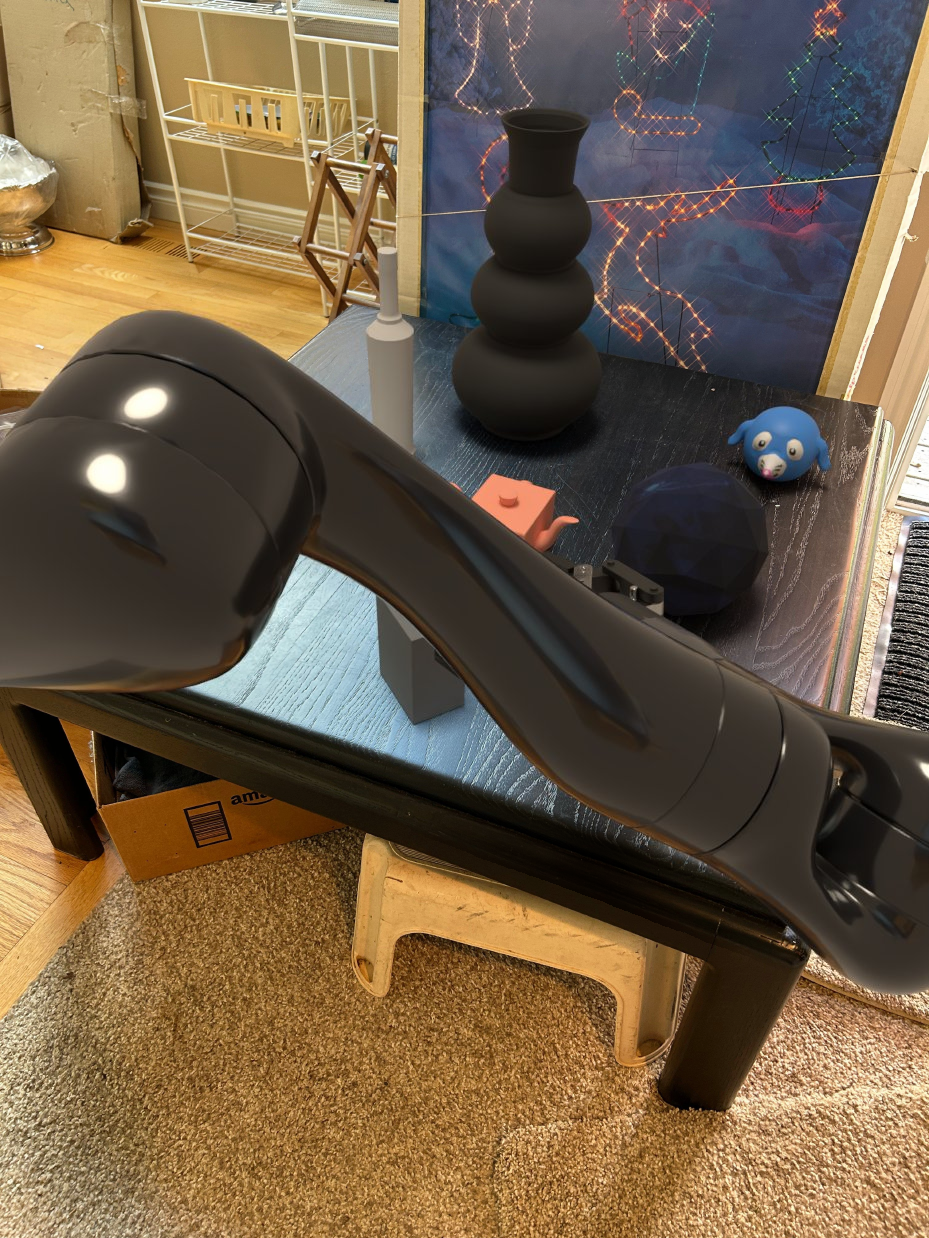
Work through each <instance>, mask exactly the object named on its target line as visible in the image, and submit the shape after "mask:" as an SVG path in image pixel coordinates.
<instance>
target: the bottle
mask: <svg viewBox="0 0 929 1238" xmlns="http://www.w3.org/2000/svg"><path fill="white" fill-rule="evenodd" d="M376 253H377V270H378V290H379V312H378V313H377V314H376V319H375V320H373V322H371V324H369V325H368V326H367V327H366V331H365V337H366V351H367V365H368V376H369V390H370V391H369V392H370V403H371V416H372V417H371V418H372V424H373V425H374V426H376V427H377V428H378V429H379V430H381V431H382V432H383V433H384V434H386V435H387V436H388V437H390V438H391V439H392V440H393V441H395V442H396V443H397V444H399V445H400V446H401V447H402V448H404V449H405V450H406V451H408V452H409V453H410V454H412V455H413V456H414V457H416V445H415V444H414V356H415V355H414V348H415V347H414V346H415V345H414V344H415V343H414V342H415V341H414V340H415V338H414V336H415V335H414V330H415V329H414V327H413V326H412V325H411V324H410V323H409V322H407V321H406V320H405V319H404V318H403V314H402V313H401V312H400V311H399V284H398V282H399V280H398V279H399V277H398V276H399V275H398V270H399V265H398V263H399V261H398V259H399V258H398V249H397V247H393V246H382V247H379V248H378V249H377V250H376Z"/></svg>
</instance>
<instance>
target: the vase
mask: <svg viewBox="0 0 929 1238" xmlns="http://www.w3.org/2000/svg"><path fill="white" fill-rule="evenodd" d="M499 120H500V121H501V125H502V127H503V129H504V131H505V133H506V136H507V142H508V180H506V181H505V182H503V184H501V186H500V187H499V188H498V189H497V191H496V192H495V193H494V195H493V196H492V197H491V199H490V200H489V202H488V204H487V206H486V208H485V211H484V216H483V229H484V230H483V231H484V235H485V238H486V240H487V243H488V244H489V246H490V248H491V249H492V252H494V254H493V255H491V256H490V257H489V258H487V260H486V261H484V262H483V263H482V264H481V266H480V267H479V268H478V270H476V273H475V275H474V277H473V278H472V281H471V286H470V303H471V307H472V309H473V311H474V314H475V315H476V317H477V319H478V320H479V322H480V324H479V325H477V326H475V327H474V328H472V330H470V332H468V333H467V334H466V335H465V336H464V337H463V339H462V340H461V342H460V343H459V344H458V347H457V348H456V350H455V353H454V356H453V359H452V364H451V378H452V379H451V380H452V381H451V382H452V386H453V389H454V392H455V394H456V396H457V398H458V400H459V402H460V404H461V405H462V406H463V408H464V409H465V410H466V411H467V412H469V414H471V416H473V417H474V418H475V419H477V420H478V421H479V422H480V424H481V425H482V427H483V428H484V429H486V431H488V432H489V433H491V434H492V435H494V436H497V437H499V438H503V439H506V440H510V441H515V442H537V441H544V440H547V439H551V438H553V437H556V436H557V435H558V434H560V433H562V432H563V430H565V428H566V426H568V425H570V424H573V423H575V422H576V421H577V420H579V419H580V418H581V417H582V416H583V415H584V414H585V413H587V411H589V409H590V408H591V406H592V405H593V403H594V402H595V400H596V398H597V397H598V395H599V392H600V388H601V384H602V375H603V374H602V372H603V371H602V364H601V363H602V362H601V359H600V356H599V353H598V351H597V349H596V348H595V346H594V344H593V343H592V341H591V340H590V339H589V337H588V336H587V335H586V334H585V333H583V332H582V331H581V330H580V328H581V327H582V326H583V325H584V323H585V322H586V321H587V320H588V318H589V317H590V316H591V313H592V310H593V309H594V304H595V298H596V296H595V295H596V293H595V286H594V282H593V280H592V277H591V275H590V273H589V272H588V269H586V267H584V265H583V264H582V263H581V262H580V261H579V260H578V259H577V257H578V256H579V255H580V254H581V252H582V251H583V250H584V248H585V247H586V245H587V243H588V241H589V239H590V237H591V234H592V230H593V229H592V228H593V217H592V212H591V208H590V206H589V203H588V202H587V200H586V198H585V196H584V195H583V194H582V192H581V190H580V188H579V187H578V186H577V185H576V184H574V182H575V181H574V180H575V174H576V165H577V160H578V158H577V157H578V154H579V149H580V143H581V140H582V139H583V137H584V136H585V134H586V132H587V130H588V129H589V127H590V126H591V124H592V123H591V122H592V121H591V119H590V118H589V117H588V116H586V115H584V114H581V113H579V112H575V111H572V110H567V109H561V108H552V107H551V108H550V107H526V108H525V107H524V108H518V109H513V110H508V111H506V112H504V113H502V114H501V115H500V119H499Z"/></svg>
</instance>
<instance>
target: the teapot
mask: <svg viewBox="0 0 929 1238" xmlns="http://www.w3.org/2000/svg"><path fill="white" fill-rule="evenodd" d="M449 482H450V483H451V484H452V485H453V486H455V487H456V488H457V489H459V490H460V491H461V492H463V490H462V489H461V488H460V487H459V486H458V485H457V484H455V483H454V482H451V481H449ZM556 495H557V492H556V490H553V489H549V488H545V487H542V486H538V485H534V484H533V483H532V482H531V481H529V480H527V479H522V480H518V479H514V478H510V477H507V476H503V475H499V474H495V473H492V474H490V476H489V477H488V478H487V479H486V480H485V482H484V483H483V484H482V485H481V487H480V488H478V490H477V491H476V492H475V494H474V495H473V496H472V497H471V499H472V500H473V501H474V502H476V503H477V504H478V505H479V506H481V507H482V508H483V509H484V510H486V511H487V512H488V513H490V514H491V515H492V516H494V517H495V518H496V519H497V520H499V521H500V522H501V523H503V524H504V525H505V526H507V527H508V528H509V529H511V530H512V531H513V532H514V533H516V534H517V535H518V536H520V537H521V538H522V539H523V540H525V541H526V542H527V543H529V544H530V545H531V546H532V547H534V548H535V549H536V550H537V551H539V552H540V553H543V552H546V551H548V549H550V548H551V547H552V546H553V545H554V543H555V542H556V540H557V538H558V536H559V534H560V533H561V531H562V530H563V528H564V527H566V526H568V525H572V524H577V523H579V522H580V521H579V519H578V518H576V517H575V516H574V517H573V516H569V515H562V516H558V517H557V518H555V519H554V512H555V501H556ZM553 519H554V520H553Z"/></svg>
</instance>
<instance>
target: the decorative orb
mask: <svg viewBox="0 0 929 1238" xmlns="http://www.w3.org/2000/svg"><path fill="white" fill-rule="evenodd" d="M610 528H611V537H612V538H611V539H612V546H613V556H614V557H613V558H614V560H617V561H619V562H621V563H623V564H624V565H626V566H628V567H629V568H631V569H633V570H634V571H636V572H638V573H639V574H641V575H643V576H645V577H646V578H648V579H650V580H651V581H653V582H655V583H656V584H658V585H660V586H661V587H663V588H664V613H666V614H667V615H669V616H672V617H681V616H695V615H706V614H707V615H708V614H716V613H718V612H719V611H721V610H722V609H723V608H725V607H727V605H729V604H730V603H731V602H733V601H735V600H736V599H738V598H739V597H740V596H741V595H743V594H744V593H745V592H747V591H749V590H750V589H751V588H752V587H753V586H754V584H755V582H756V580H757V578H758V576H759V574H760V572H761V570H762V568H763V566H764V565H765V562H766V561H767V559H768V556H769V554H770V553H769V552H770V551H769V541H768V530H767V529H768V528H767V516H766V508H765V507H764V505H763V504H762V503H761V502H760V500H758V499H757V498H756V496H754V494H753V493H752V492H751V490H749V488H748V487H747V486H746V485H745V484H744V482H743V481H742V480H740V479H738V478H737V477H735V476H733V475H732V474H731V473H728V472H726V471H724V470H723V469H720V468H719V467H716V466H714V465H712V464H710V463H708V462H706V461H701V462H695V463H688V464H682V465H674V466H669V467H663V468H661V469H659V470H658V471H656V472H654V473H653V474H651V475H649V476H648V477H647V478H645V479H643V480H642V481H640V482H638V483H636V484H635V485H633V486H632V488H631V490H630V492H629V494H628V495H627V497H626V499H625V500H624V502H623V504H622V506H621V508H619V511H618V513H617V515H616V516H615V518H614V520H613V522H612V524H611V525H610Z"/></svg>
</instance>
